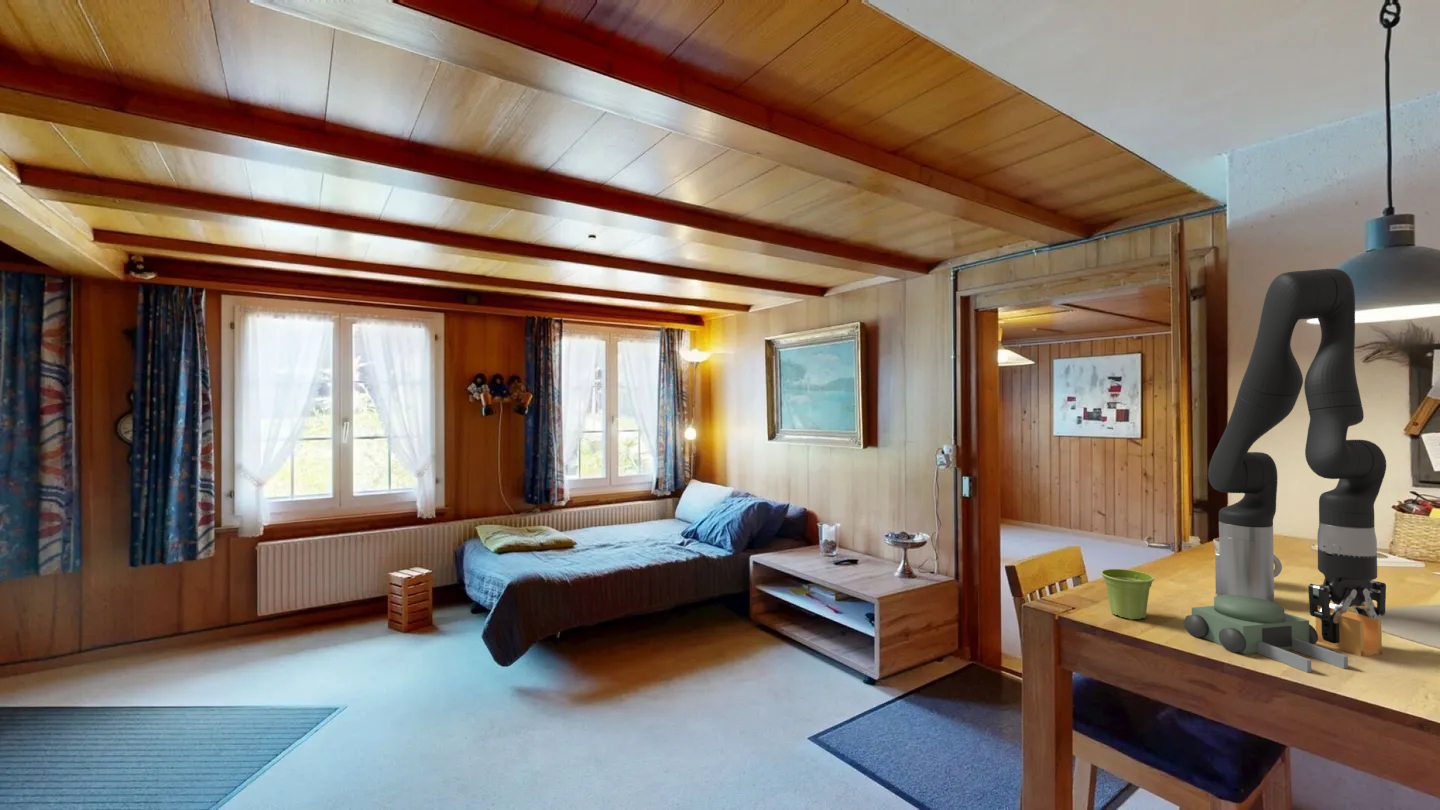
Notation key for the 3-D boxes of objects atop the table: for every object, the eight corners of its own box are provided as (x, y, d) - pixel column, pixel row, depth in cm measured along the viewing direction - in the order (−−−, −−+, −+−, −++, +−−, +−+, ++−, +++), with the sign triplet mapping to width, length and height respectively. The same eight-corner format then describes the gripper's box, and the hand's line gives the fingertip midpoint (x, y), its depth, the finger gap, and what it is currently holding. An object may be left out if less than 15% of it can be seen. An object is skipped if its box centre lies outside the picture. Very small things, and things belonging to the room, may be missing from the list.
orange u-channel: (1315, 641, 113) (1315, 609, 113) (1336, 639, 114) (1335, 607, 114) (1360, 656, 106) (1360, 622, 106) (1381, 654, 107) (1381, 620, 107)
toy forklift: (1184, 632, 118) (1183, 596, 118) (1255, 626, 120) (1255, 591, 120) (1286, 674, 100) (1285, 632, 100) (1368, 666, 102) (1367, 624, 102)
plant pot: (1107, 620, 125) (1107, 578, 125) (1096, 605, 134) (1096, 567, 134) (1161, 625, 122) (1160, 582, 122) (1146, 610, 131) (1146, 570, 131)
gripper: (1354, 542, 115) (1356, 629, 115) (1290, 546, 113) (1292, 635, 113) (1405, 552, 107) (1406, 645, 107) (1337, 556, 105) (1339, 651, 105)
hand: (1347, 639), depth 110 cm, fingers open, 7 cm apart
